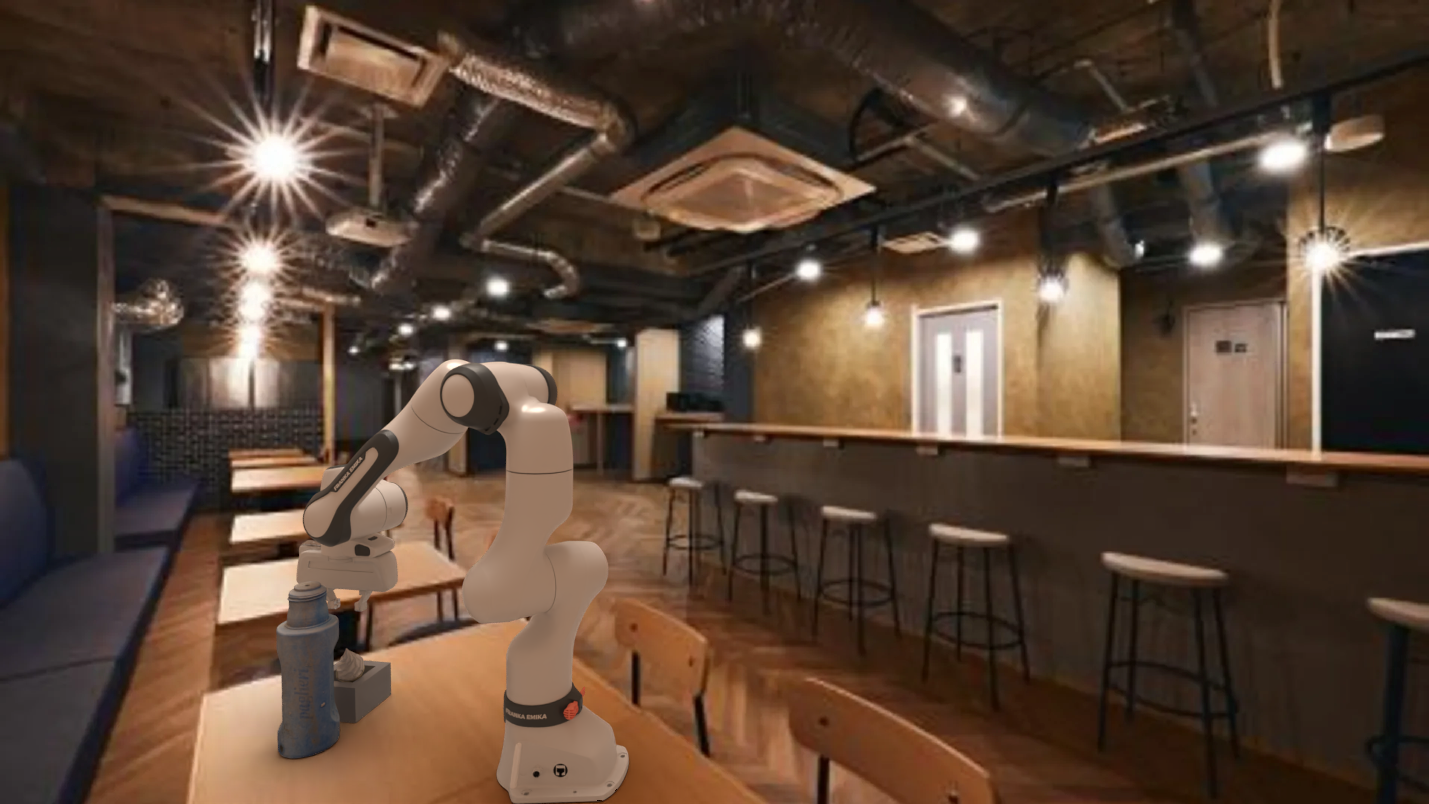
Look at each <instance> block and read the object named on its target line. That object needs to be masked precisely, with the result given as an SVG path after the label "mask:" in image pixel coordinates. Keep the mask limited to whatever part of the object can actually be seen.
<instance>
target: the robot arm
mask: <svg viewBox="0 0 1429 804" xmlns="http://www.w3.org/2000/svg"><path fill="white" fill-rule="evenodd" d="M557 401H558V385H557V383H556V380H555V379H554V377H553V375H552V374H551V373H550V372H549V371H547V370H546V369H544V368H543V367H540V366H537V365H533V364H529V363H525V364H524V363H523V364H522V363H512V362H507V361H489V362H470V361H466V360H463V359H458V358H456V359H455V358H454V359H448V360H446V361H443V362H442V363H441V364H439V365H438V366H437V367H436V368H435V369H434V370H433V371H432V372H431V373H430V374H429V375H428V376H427V378H426V379H425V380H424V381H423V382H422V383H421V384H420V386H419V387H418V388H417V389H416V391H415V392H414V393H413V395H412V397H411V398H410V400H409V401H408V402H407V403H406V405H405V406H404V407H403V409H401V411H400V412H399V413H398V414H397V415H396V416H395V417H394V418H393V419H392V420H391V421H390V422H389V423H388V424H386V425H385V426H384V427H383V428H382V429H381V430H379V431H378V432H376V433H375V434H374V435H373V436H372V437H370V438H369V439H368V440H366V442H365V443H364V444H363V445H362V446H361V448H360V449H359V450H358V451H357V452H356V453H355V454H354V455H353V456H352V458H351V459H350V460H349V461H348V463H346V464H338V465H332V466H329V467H327V468H326V469H325V470H324V471H323V473H322V477H321V481H320V491H317V492H316V493H315V494H314V495H312V497H311V499H310V500H309V501H308V502H307V504H306V505H305V508H304V511H303V513H302V525H303V529H304V531H305V533H306V535H308V536H309V537H310V538H311V539H308V540H305V541H304V542H302V543H301V544H300V546H299V548H298V554H299V556H298V560H297V565H296V566H297V567H296V583H297V584H299V583H303V582H309V581H316V582H320V583H321V585H323V586H325V587H326V590H327V596H326V601H327V606H328V610H337V609H338V608H340V607H341V598H339V597H338V598H337V596H336V593H335V590H349V591H358V595H359V596H360V598H359V600H358V601H356V602H354V611H355V612H364V611H366V610H367V608H368V600H369V599H370V597H371V595H372V594H373V592H375V593H376V592H377V593H386V592H389V591H391V590H392V589H393V588H394V587H396V585H397V584H398V581H399V574H398V573H399V571H398V570H399V569H398V562H397V556H396V555H395V552H393V551H392V550H393V549H394V548H395V545H396V544H395V540H394V539H393V538H391V537H389V536H386V535H384V534H381V533H380V532H384V531H385V532H386V531H387V530H392V529H394V528H396V527H399V526H401V525H402V523H403V522H404V521H405V519H406V517H407V514H408V510H409V500H408V496H407V494H406V492H405V490H404V488H402V486H400V485H399V484H397V483H395V482H391V481H387V480H385V478H386V477H388V476H389V475H391V474H392V473H394V472H396V471H400V470H402V469H403V468H406V467H409V466H412V465H414V464H418V463H421V462H424V461H428V460H431V459H435V458H437V457H439V456H442V455H443V454H445V453H447V452H448V451H449V450H450V449H452V448H453V447H454V446H455V445H456V444H457V443H458V442H459V441H460V440H461V438H462V437H463V436H464V435H465V433H466V432H467V431H468V428H469V429H474V430H476V431H478V432H480V433H481V434H485V435H487V436H490V435H492V434H494V433H495V432H496V431H497V432H498V433H500V434H501V436H502V438H503V439H504V442H505V448H506V458H505V459H506V461H505V463H506V464H505V493H504V494H505V495H504V509H503V515H502V520H501V523H500V526H499V529H498V531H497V533H496V535H495V538H494V539H493V540H492V542H491V544H490V545H489V547H488V549H487V550H486V551H485V553H484V554H483V555H482V556H481V557H480V558H479V559H478V560H477V561H476V562H475V563H474V564H472V566H471V567H470V568H469V569H468V571H467V573H466V574H465V577H464V579H463V582H462V587H461V598H462V603H463V606H464V608H465V610H466V612H467V614H468V615H470V616H471V618H472V619H473V620H474V621H476V622H478V623H479V624H485V625H486V624H500V623H502V624H503V623H511V622H514V621H517V620H521V619H525V618H528V617H530V619H529V620H528V622H527V623H526V625H525V626H524V627H523V628H522V629H521V630H520V631H519V632H518V633H517V634H516V635H515V636H514V637H513V638H512V640H511V641H510V643H509V644H508V647H507V650H506V654H505V660H506V662H505V665H506V666H505V673H506V674H505V675H506V676H505V677H506V681H505V682H506V683H505V684H506V685H505V690H504V693H503V704H502V705H503V707H502V709H503V710H502V711H503V722H504V724H505V725H504V736H503V744H502V748H501V749H502V750H501V755H500V759H499V763H498V766H497V770H496V779H497V781H498V783H499V784H500V786H502V788H504V789H505V790H506V791H507V792H508V795H509V799H510V801H511V803H513V804H542V803H543V804H544V803H546V804H549V803H576V802H577V803H578V802H582V803H583V802H598V801H597V800H602V801H605V800H606V799H608V798H609V797H611V796H612V795H613V794H614V793H615V792H616V791H617V790H618V789H619V788H620V786H621V785H622V783H623V781H624V780H625V777H626V775H627V772H628V771H629V770H628V769H629V763H630V760H629V752H628V750H627V748H626V747H625V746H623V745H619V744H617V743H616V737H615V733H614V730H613V727H612V725H611V724H610V723H608V722H607V721H606V720H604V719H603V718H601V717H600V716H599V715H597V714H596V713H594V712H593V711H592V710H590V708H588V707H587V706H586V705H584V704H583V703H584V702H583V699H584V697H585V695H586V687H585V686H583V687H582V689H581V690H579V689H577V687H576V686H575V684H574V682H573V658H574V657H573V656H574V646H575V639H576V636H577V632H578V630H579V628H580V624H581V622H582V620H583V617H584V616H585V613H586V611H587V610H588V608H589V607H590V604H591V603H592V602H593V601H594V599H595V598H596V597H597V596H598V594H599V593H600V592H601V591H602V590H603V589H604V588H605V586H606V583H607V581H608V577H609V562H608V560H607V557H606V554H605V552H604V551H603V550H602V548H601V547H600V546H599V545H598V544H597V543H596V542H594V541H590V540H589V541H588V540H586V541H585V540H565V541H562V542H561V541H560V542H555V543H551V544H547V543H548V541H549V539H550V537H551V536H552V534H553V533H554V532H555V531H556V530H557V528H559V527H560V526H561V525H563V524H564V523H565V522H566V521H567V520H568V518H569V517H570V515H571V514H572V511H573V506H574V505H573V504H574V498H573V497H574V456H573V455H574V452H573V450H574V449H573V441H572V440H573V439H572V433H571V428H570V423H569V418H568V416H567V414H566V413H565V411H564V410H563V409H561V408H560V407H558V406H556V404H557ZM616 789H617V790H616ZM615 790H616V791H615Z"/></svg>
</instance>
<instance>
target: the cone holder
mask: <svg viewBox="0 0 1429 804" xmlns="http://www.w3.org/2000/svg"><path fill="white" fill-rule="evenodd" d="M363 660H364V659H363ZM340 661H341V660H339V661H338V662H340ZM338 662H336V663H334V700H335V704H336V707H337V710H338V713H339V717H340V723H350V724H351V723H352V724H357V723H358V722H359V721H360V720H362V719H363V718H364V717H366V715H368V714H369V713H370V712H371V711H373V710H374V709H375V708H377V707H378V706H379V705H380V704H381V703H383V702H384V701H385V700H386V699H388V698H389V697H390V696H391V695H392V677H391V676H392V671H391V669H392V665H391V664H392V663H391V662H389V661H377V660H364V671H363V674H362V676H361V677H360V678H358V679H357V680H356V681H354V682H342V681H340V680H338V679H337V677H336V672H337V671H336V669H337V668H338V667H339V666H337V663H338Z"/></svg>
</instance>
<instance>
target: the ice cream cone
mask: <svg viewBox="0 0 1429 804" xmlns="http://www.w3.org/2000/svg"><path fill="white" fill-rule="evenodd" d="M340 660H341V661H340ZM340 660H339V661H340V662H339V661H338V663H337V662H336V663H337V666H339V667H338V668H337V669H336V671H337V672H336V677H337V679H338V680H340V681H342V682H354V681H356V680H357V679H358V678H360V677H361V676H362V674H363V671H364V658H363V657H362V656H361V654H358V653H356V652H353V651H351V650H350V649H348V648H347V647H345V650H344V653H343V654H342V656H341V657H340Z"/></svg>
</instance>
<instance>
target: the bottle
mask: <svg viewBox="0 0 1429 804" xmlns="http://www.w3.org/2000/svg"><path fill="white" fill-rule="evenodd" d="M326 596H327V590H326V587H325V586H323V585H321V583H320V582H316V581H309V582H303V583H299V584H298V583H297V584H294V586H293V588H292V589H291V590H289V591H288V595H287V600H288V610H287V616H286V620H285V621H283V622H282V623H280V624H278V626H277V627H276V631H275V632H276V652H277V656H278V659H279V660H278V661H279V665H280V670H281V671H280V673H281V674H280V675H281V678H280V679H281V719H282V720H281V723H280V725H279V727H278V729H277V740H276V741H277V752H278V753H279V754H280V756H282V757H284V758H287V759H300V758H307V757H312V756H314V755H318V754H320V753H322V752H325V751H326V750H328V749H329V748H331V747H332V746H333V745H335V744H336V742H337V741H338V740H339V738H340V731H341V730H340V728H341V727H340V725H341V722H340V717H339V713H338V710H337V707H336V704H335V700H334V664H335V663H334V660H335V659H334V657H335V656H334V655H335V654H334V652H335V651H334V649H335V647H336V646H337V642H338V641H339V638H340V637H339V635H340V628H339V625H340V624H339V623H340V620H339V618H338V617H337V616H336V615H334V614H331V613H329V609H328V601H327V600H326Z"/></svg>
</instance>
